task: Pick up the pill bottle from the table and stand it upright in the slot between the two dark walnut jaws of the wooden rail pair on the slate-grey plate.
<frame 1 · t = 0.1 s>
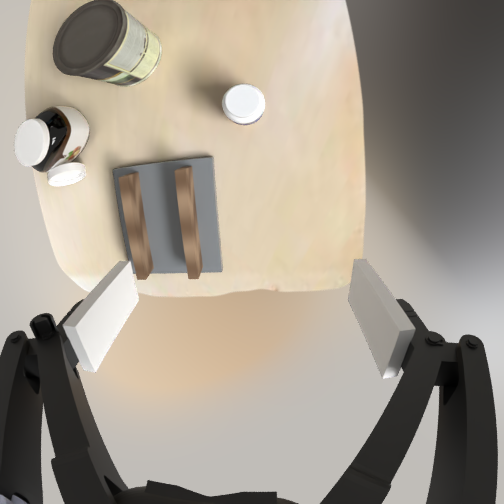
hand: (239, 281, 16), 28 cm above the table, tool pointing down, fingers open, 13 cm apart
coffee can: (132, 57, 34), on the table
wooden rail pair: (162, 224, 41), on the clip plate, point 3 cm above the table
pill bottle: (245, 107, 37), on the table
clip plate: (168, 218, 44), on the table
spread jar: (75, 147, 39), on the table
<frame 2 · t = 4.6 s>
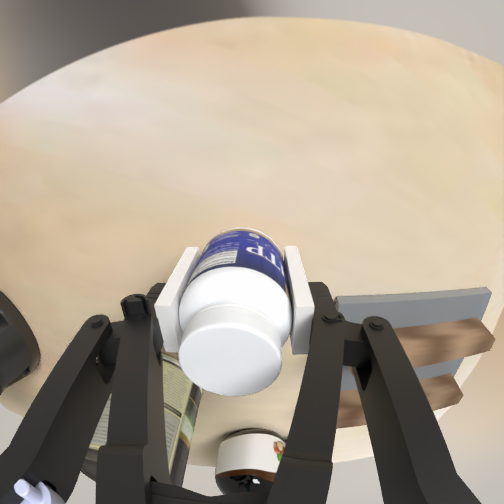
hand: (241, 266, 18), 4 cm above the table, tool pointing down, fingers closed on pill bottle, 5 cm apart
coffee can: (160, 380, 29), on the table
wooden rail pair: (413, 375, 23), on the clip plate, point 3 cm above the table
pill bottle: (242, 263, 19), point 4 cm above the table, touching gripper
clip plate: (403, 355, 26), on the table
spread jar: (271, 437, 34), on the table
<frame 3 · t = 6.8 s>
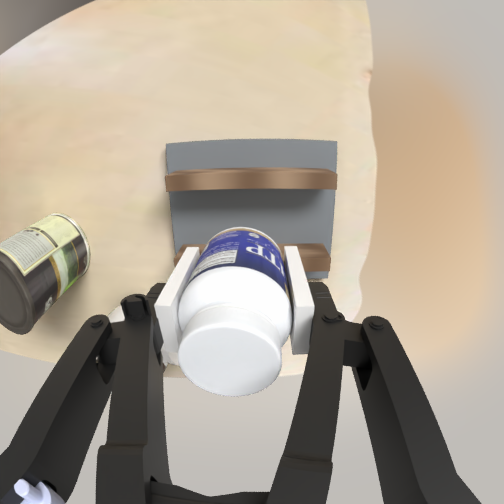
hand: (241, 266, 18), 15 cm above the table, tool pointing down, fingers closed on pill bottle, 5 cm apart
coffee can: (63, 245, 34), on the table
wooden rail pair: (251, 218, 29), on the clip plate, point 3 cm above the table
pill bottle: (242, 262, 18), point 15 cm above the table, touching gripper
clip plate: (252, 210, 32), on the table
spread jar: (156, 322, 39), on the table
when the fingers open (2 cm above the table, at t = 9.3 s): pill bottle stays where it is, resting on clip plate.
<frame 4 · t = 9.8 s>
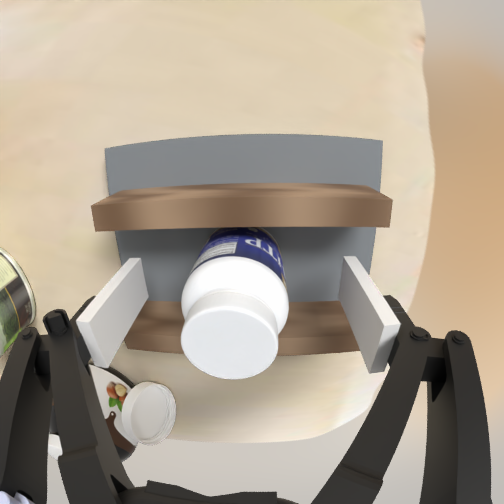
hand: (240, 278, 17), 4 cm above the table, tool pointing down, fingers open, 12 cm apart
coffee can: (7, 285, 23), on the table
wooden rail pair: (241, 272, 17), on the clip plate, point 3 cm above the table
pill bottle: (241, 256, 19), point 1 cm above the table, touching clip plate
clip plate: (243, 251, 20), on the table
spread jar: (124, 383, 27), on the table
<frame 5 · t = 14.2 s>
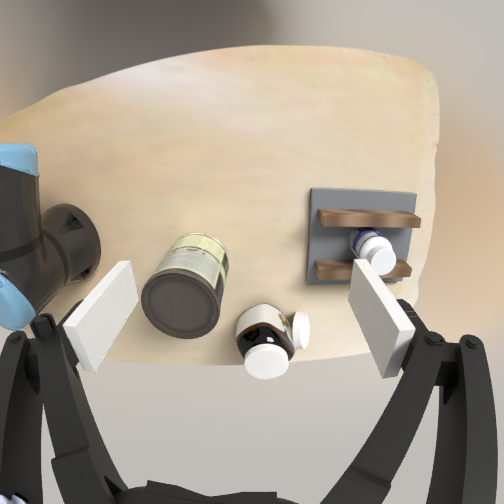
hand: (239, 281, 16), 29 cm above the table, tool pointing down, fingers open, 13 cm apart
coffee can: (199, 260, 48), on the table
wooden rail pair: (368, 244, 42), on the clip plate, point 3 cm above the table
pill bottle: (363, 238, 44), point 1 cm above the table, touching clip plate
clip plate: (361, 237, 45), on the table
spread jar: (276, 318, 52), on the table
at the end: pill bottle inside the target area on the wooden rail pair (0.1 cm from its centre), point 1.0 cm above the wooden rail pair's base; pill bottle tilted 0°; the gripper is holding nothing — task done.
